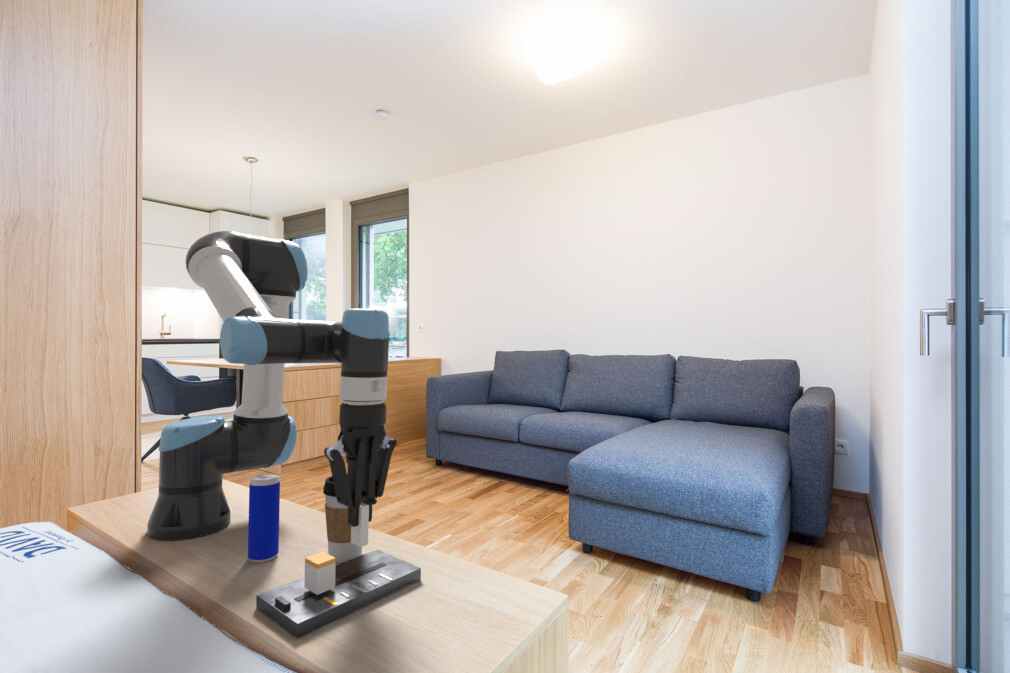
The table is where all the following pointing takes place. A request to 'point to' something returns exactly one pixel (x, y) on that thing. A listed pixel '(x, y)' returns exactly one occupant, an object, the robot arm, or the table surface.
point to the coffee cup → (338, 526)
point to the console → (337, 592)
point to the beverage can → (263, 517)
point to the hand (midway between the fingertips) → (359, 543)
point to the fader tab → (320, 572)
